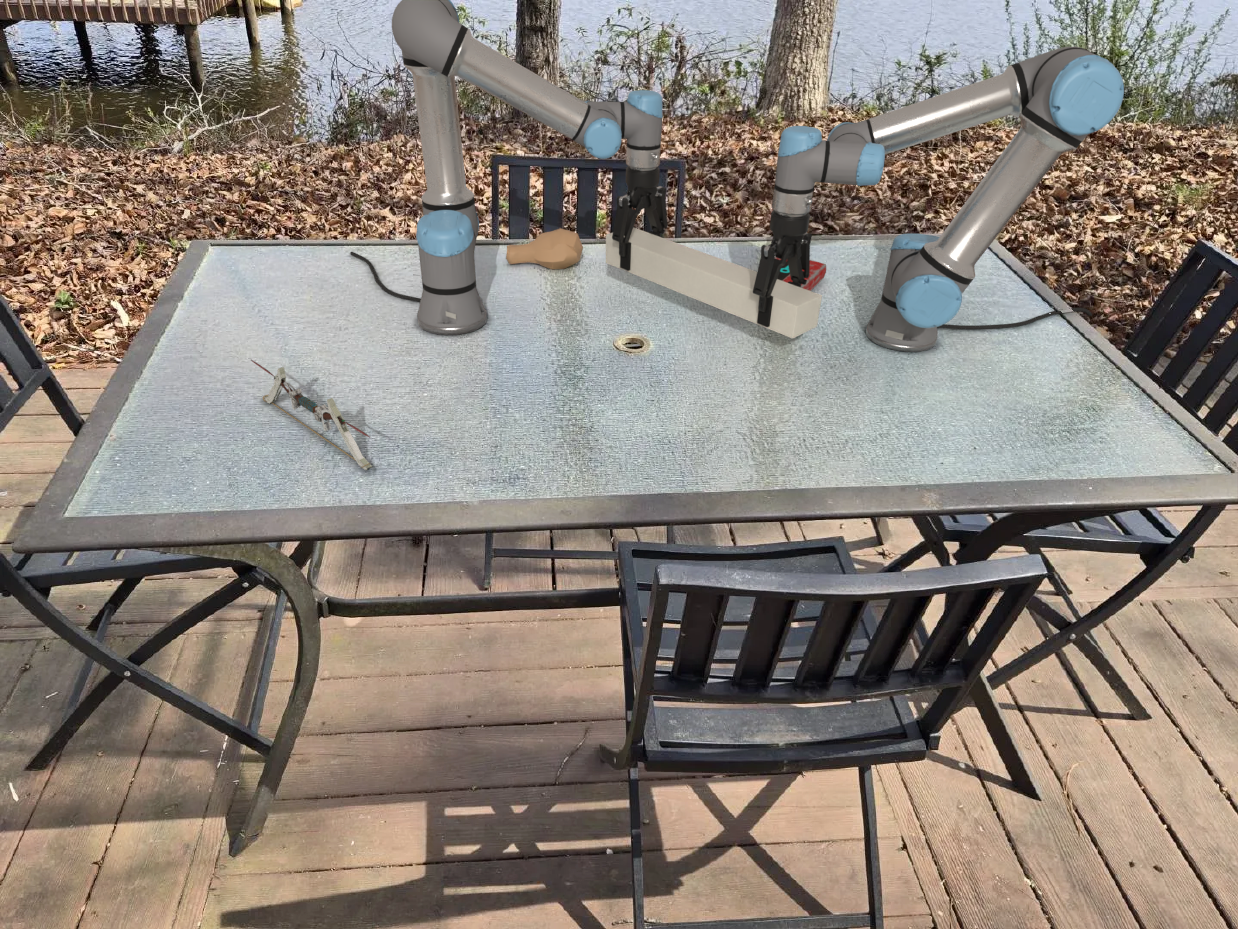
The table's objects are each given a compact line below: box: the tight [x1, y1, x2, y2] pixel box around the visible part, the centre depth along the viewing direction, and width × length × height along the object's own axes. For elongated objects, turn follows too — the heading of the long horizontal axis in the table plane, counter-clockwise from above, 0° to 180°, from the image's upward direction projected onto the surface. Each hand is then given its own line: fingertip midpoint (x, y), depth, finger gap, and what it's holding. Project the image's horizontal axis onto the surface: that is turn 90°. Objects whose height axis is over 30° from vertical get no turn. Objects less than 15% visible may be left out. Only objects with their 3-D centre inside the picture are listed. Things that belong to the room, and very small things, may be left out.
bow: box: [250, 359, 373, 471], centre depth 154 cm, size 39×2×10 cm, turn 47°
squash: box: [505, 227, 584, 270], centre depth 225 cm, size 11×20×9 cm, turn 90°
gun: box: [775, 256, 827, 291], centre depth 215 cm, size 4×31×19 cm
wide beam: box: [605, 226, 823, 339], centre depth 194 cm, size 55×9×7 cm, turn 44°
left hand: (639, 263), depth 207 cm, fingers closed on wide beam, 9 cm apart
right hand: (777, 318), depth 183 cm, fingers closed on wide beam, 9 cm apart
